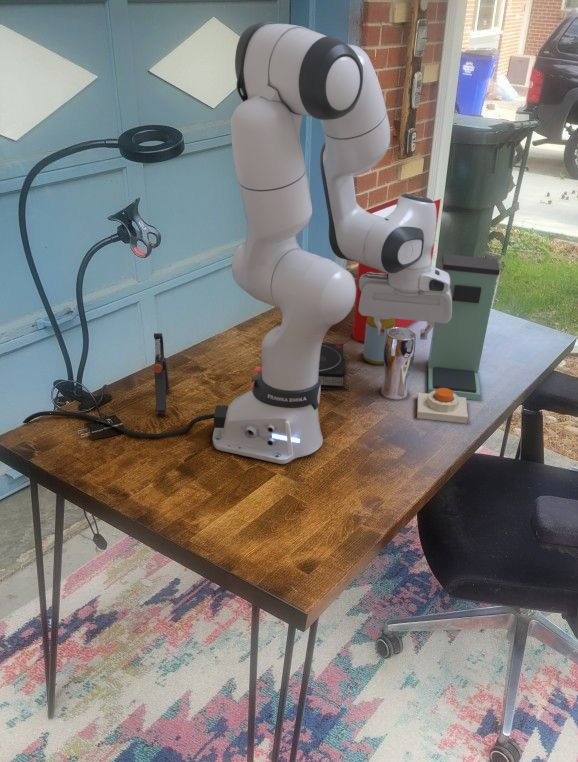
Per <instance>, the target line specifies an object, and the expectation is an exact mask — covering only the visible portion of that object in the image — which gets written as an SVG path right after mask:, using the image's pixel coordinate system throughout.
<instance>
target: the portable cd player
mask: <svg viewBox="0 0 578 762" xmlns="http://www.w3.org/2000/svg"><path fill="white" fill-rule="evenodd" d="M344 365H345V364H344V344H343V343H334V342H333V343H331V342H322V345H321V351H320V361H319V377H320V385H321V390H336V391H343V390H344V377H345V371H344V370H345V369H344V367H345V366H344Z"/></svg>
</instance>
